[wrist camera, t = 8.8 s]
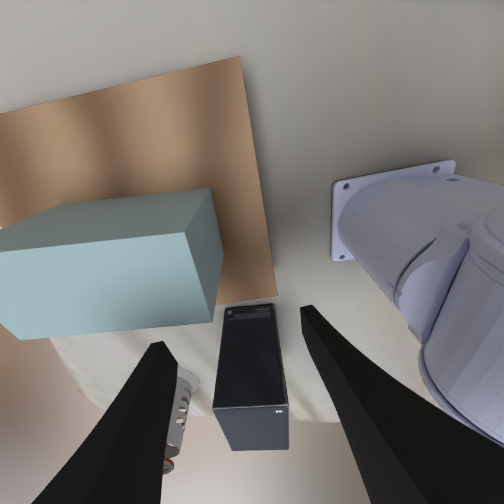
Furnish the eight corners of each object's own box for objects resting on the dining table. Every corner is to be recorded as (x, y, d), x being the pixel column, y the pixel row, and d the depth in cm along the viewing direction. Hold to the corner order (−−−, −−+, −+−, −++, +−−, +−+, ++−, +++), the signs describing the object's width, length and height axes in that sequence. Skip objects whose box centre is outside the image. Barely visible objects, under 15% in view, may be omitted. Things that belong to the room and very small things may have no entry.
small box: (220, 307, 24) (206, 411, 16) (275, 302, 24) (292, 404, 15) (234, 357, 30) (229, 455, 21) (278, 353, 30) (292, 451, 21)
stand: (241, 74, 13) (239, 55, 10) (272, 268, 22) (277, 295, 18) (-6, 132, 15) (-83, 134, 11) (113, 294, 23) (90, 324, 19)
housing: (210, 187, 13) (184, 232, 8) (223, 253, 16) (212, 322, 10) (42, 206, 13) (-101, 263, 8) (83, 267, 16) (-3, 342, 10)
